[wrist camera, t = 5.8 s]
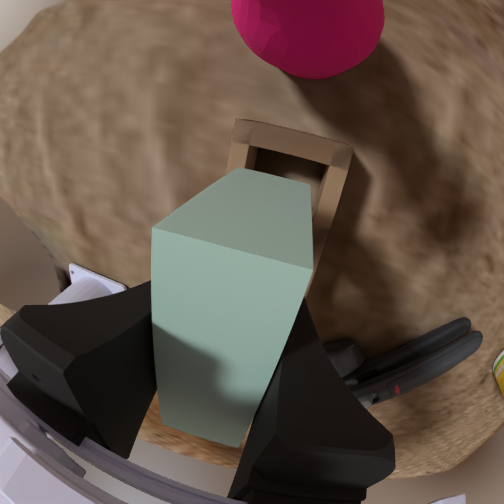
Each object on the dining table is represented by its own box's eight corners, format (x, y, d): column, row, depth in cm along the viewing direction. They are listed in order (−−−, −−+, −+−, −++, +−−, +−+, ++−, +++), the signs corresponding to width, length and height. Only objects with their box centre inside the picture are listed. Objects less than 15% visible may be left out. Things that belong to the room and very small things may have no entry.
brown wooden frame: (298, 300, 21) (295, 325, 19) (219, 277, 22) (206, 299, 19) (347, 144, 16) (354, 147, 13) (248, 119, 16) (235, 118, 14)
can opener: (306, 391, 26) (300, 436, 21) (281, 348, 24) (271, 397, 19) (469, 343, 20) (487, 385, 15) (471, 288, 18) (498, 331, 13)
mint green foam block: (266, 331, 15) (238, 448, 8) (212, 315, 15) (161, 423, 9) (309, 184, 11) (313, 269, 5) (238, 167, 11) (152, 227, 5)
